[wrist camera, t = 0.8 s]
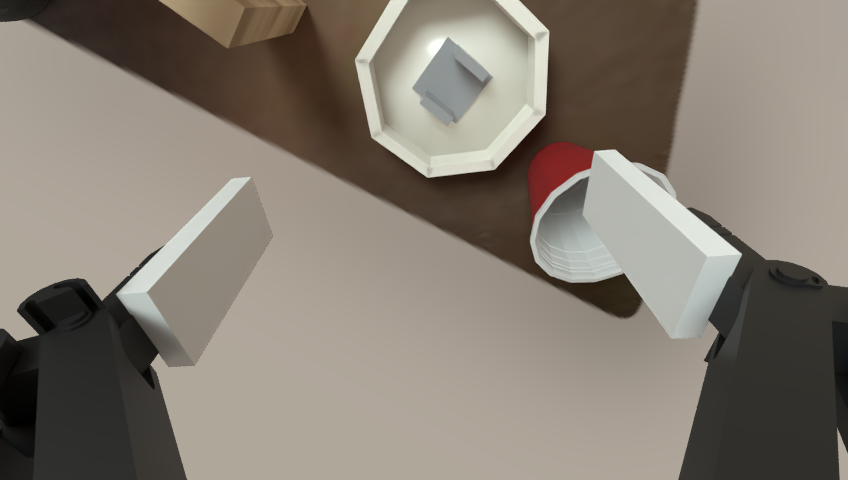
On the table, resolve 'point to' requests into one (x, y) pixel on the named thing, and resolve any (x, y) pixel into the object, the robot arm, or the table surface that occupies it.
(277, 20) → the long cardboard-colored beam
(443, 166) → the white octagonal tray
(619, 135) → the table surface
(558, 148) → the plastic cup
